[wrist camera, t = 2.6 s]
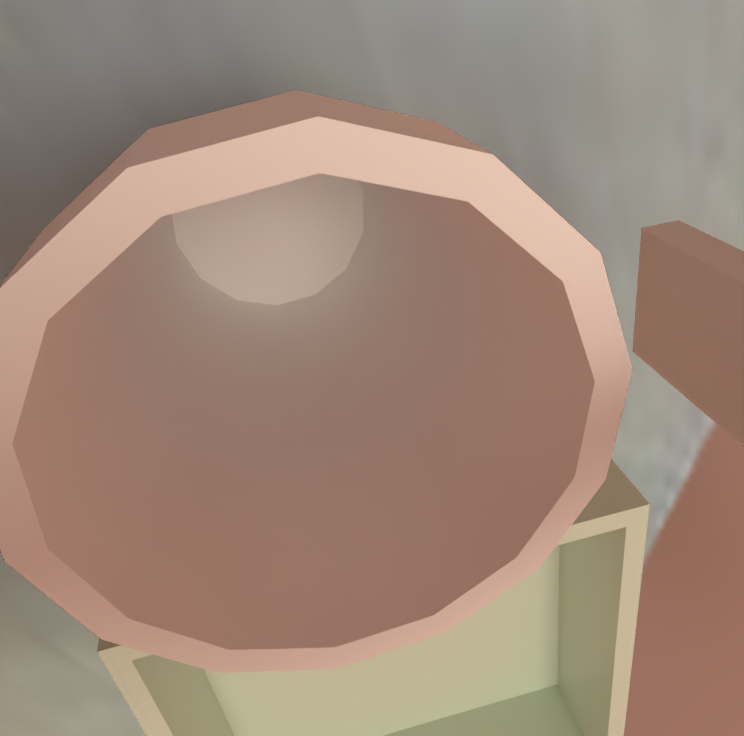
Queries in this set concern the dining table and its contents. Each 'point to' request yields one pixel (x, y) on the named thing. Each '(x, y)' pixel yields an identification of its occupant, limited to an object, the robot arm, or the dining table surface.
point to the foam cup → (300, 387)
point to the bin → (445, 658)
